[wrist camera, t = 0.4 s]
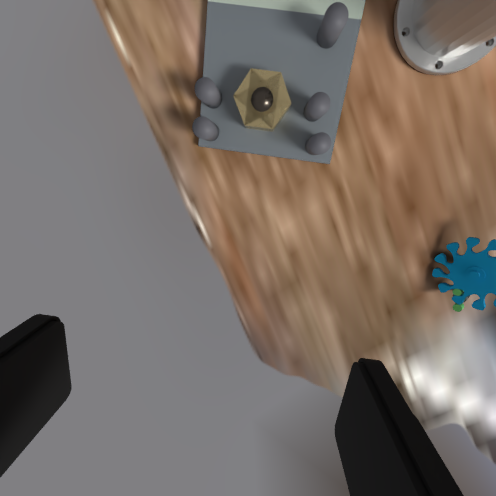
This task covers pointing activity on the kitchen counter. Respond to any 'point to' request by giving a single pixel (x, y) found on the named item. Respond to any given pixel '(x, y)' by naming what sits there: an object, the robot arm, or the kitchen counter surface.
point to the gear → (469, 273)
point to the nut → (262, 99)
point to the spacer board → (281, 60)
